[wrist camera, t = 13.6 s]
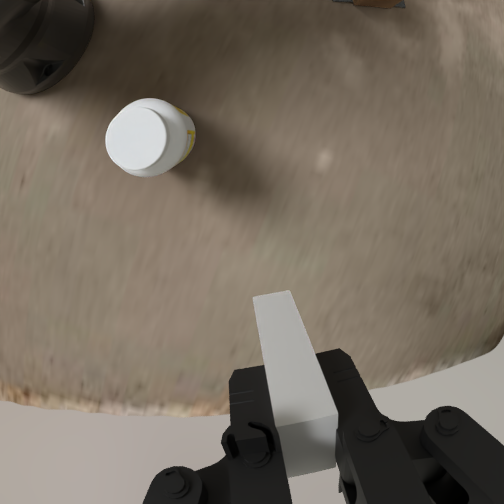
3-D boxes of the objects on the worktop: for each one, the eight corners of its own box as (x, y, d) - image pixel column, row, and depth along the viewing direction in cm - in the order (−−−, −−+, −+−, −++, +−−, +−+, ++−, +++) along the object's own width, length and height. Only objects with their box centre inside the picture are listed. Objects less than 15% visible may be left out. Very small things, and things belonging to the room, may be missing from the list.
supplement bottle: (129, 119, 32) (82, 114, 20) (186, 98, 32) (164, 78, 20) (148, 175, 34) (109, 196, 22) (204, 154, 34) (193, 165, 22)
